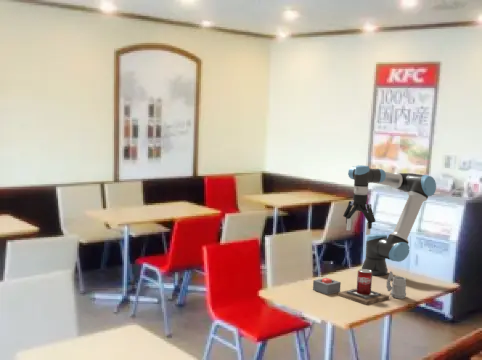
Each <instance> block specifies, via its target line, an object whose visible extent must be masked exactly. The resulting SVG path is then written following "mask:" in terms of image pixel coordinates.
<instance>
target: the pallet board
mask: <svg viewBox="0 0 482 360" xmlns="http://www.w3.org/2000/svg"><path fill="white" fill-rule="evenodd" d="M356 290H357V287H356V288H352V289H349V290H343V291H340V292H337V294H338V295H337V296H339V297H342V298H344V297H345V298H344V299H347V298H348V300H350V299H351V301H354V302H357V303H360V304H363V305H366V306H367V305H371V304H376V303H379V302H382V301H387V300H389V299H390V295H387V294H383V293H381V292H378V291H375V290H374V291H373V290H371V294H370V295H368V296H363V295H359V294H357V292H356Z"/></svg>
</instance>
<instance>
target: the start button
mask: <svg viewBox="0 0 482 360" xmlns="http://www.w3.org/2000/svg"><path fill="white" fill-rule="evenodd" d="M321 279H322V282H324V283H327V284H328V283H332V280H333V278H328V277H325V278H321Z"/></svg>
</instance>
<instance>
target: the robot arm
mask: <svg viewBox="0 0 482 360" xmlns="http://www.w3.org/2000/svg"><path fill="white" fill-rule="evenodd" d="M347 173H348V174H347V175H348V177H349V179H351V180H354V181H353V183H354V184H353V193H354V194H353V196H352V197H353V199H352V200H349V201H348V204H347V207H346V209H345V211H344V213H343V217H344V218H345V224H346V230H345V231H351V229H352V216H353V215H354V214H355V213H356V212H361V213H362V215H363V216H364V218H365V219H366V226H365V227H366V229H365V235H366V241H365V242H366V243H365V244H366V245H365V260H364V261H363V264H362V267H361V269H366V270H370V271H372V276H387V275H389V271H388V267H387V262H386V259H387V260H389V261H392V262H398V263H399V262H400V263H401V262H402V261H405V260H406V259H407V257H408V256H409V255H410V246H409V243H410V241H409V240H408V238H409V235H410V233H411V231H412V229H413V227H414V224H415V222H416V219H417V217H418V215H419V213H420V210H421V207H422V206H423V203H424V202H427V201H428V199H429V197H432V196H434V194H435V193H436V191H437V183H436V180H435V178H434V177H433V176H431V175H427V174H419V173H418V174H417V173H413V172H411V173H409V172H407V173H406V172H394V173H393V172H386V171H385V170H384V169H381V168H370V166H369V165H363V164H362V165H359V164H358V165H356V166H351V167H350V168H349V169H348V172H347ZM370 183H371V184H379V185H382V186H389V187H391V188H392V189H396V190H400V191H403V192H406V193H407V195H408V198H407V200H406V203H405V204H404V207H403V209H402V211H401V213H400V216H399V218H398V221H397V222H396V226H395V228H394V230H393V232H391V233H389V235H387V234H386V233H372V234H371V230H372V228H373V225H372V224H373V223H375V222H376V218H375V214H374V212H373V209H372V204H371V203H368V193H369V184H370ZM367 203H368V204H367Z"/></svg>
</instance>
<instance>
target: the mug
mask: <svg viewBox="0 0 482 360" xmlns="http://www.w3.org/2000/svg"><path fill="white" fill-rule="evenodd" d="M391 281H392V283H391ZM406 288H407V278H406V277H404V276H398V275H396V276H394V273H393V271H392V270H390V271H389V273H388V277H387V281H386V289H387V291H388V292H390V294H391V297H392V298H395V299H400V300H402V299H405V298H406V296H407V292H406V290H407V289H406Z"/></svg>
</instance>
